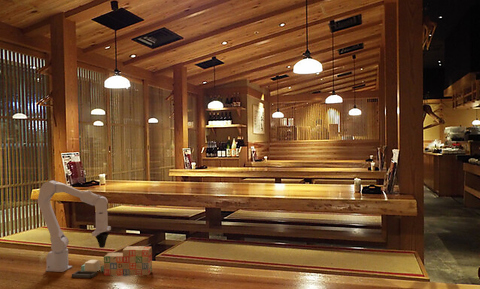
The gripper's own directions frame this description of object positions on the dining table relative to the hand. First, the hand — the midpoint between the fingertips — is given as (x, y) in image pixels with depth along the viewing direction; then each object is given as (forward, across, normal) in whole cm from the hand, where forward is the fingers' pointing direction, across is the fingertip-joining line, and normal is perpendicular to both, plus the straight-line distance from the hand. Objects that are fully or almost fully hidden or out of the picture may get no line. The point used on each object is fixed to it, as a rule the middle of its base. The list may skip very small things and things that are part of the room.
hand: (102, 247), depth 193 cm
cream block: (+10, -9, 0) cm, 13 cm away
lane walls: (+9, -4, 0) cm, 10 cm away
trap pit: (+9, -16, 0) cm, 18 cm away
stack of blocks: (+10, -9, -19) cm, 23 cm away
